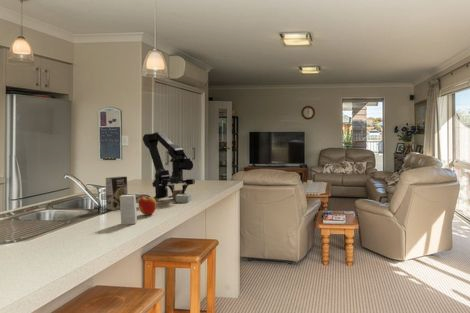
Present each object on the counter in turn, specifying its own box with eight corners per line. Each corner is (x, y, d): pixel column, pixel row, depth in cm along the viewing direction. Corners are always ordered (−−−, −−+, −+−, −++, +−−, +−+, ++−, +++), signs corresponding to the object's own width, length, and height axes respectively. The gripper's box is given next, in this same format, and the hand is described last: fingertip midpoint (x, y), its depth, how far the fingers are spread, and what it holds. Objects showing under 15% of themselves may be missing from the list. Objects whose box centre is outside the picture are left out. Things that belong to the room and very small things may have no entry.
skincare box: (137, 222, 194) (135, 194, 193) (135, 224, 190) (134, 195, 189) (122, 222, 194) (121, 195, 193) (120, 224, 190) (119, 196, 189)
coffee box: (114, 210, 227) (112, 178, 226) (106, 209, 231) (104, 177, 230) (128, 207, 234) (127, 176, 234) (120, 206, 238) (119, 175, 237)
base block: (175, 203, 246) (175, 195, 245) (178, 201, 253) (178, 193, 252) (188, 202, 245) (188, 195, 245) (191, 200, 252) (190, 193, 252)
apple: (157, 212, 215) (157, 192, 215) (155, 216, 207) (154, 194, 207) (140, 213, 215) (139, 192, 215) (137, 216, 207) (136, 194, 207)
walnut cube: (173, 199, 258) (172, 190, 258) (175, 197, 263) (175, 189, 263) (181, 199, 258) (181, 190, 257) (184, 197, 263) (183, 189, 262)
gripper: (157, 171, 253) (158, 199, 254) (189, 170, 250) (190, 198, 251) (163, 169, 264) (164, 196, 265) (194, 168, 261) (195, 195, 262)
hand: (178, 196), depth 260 cm, fingers closed on walnut cube, 5 cm apart
